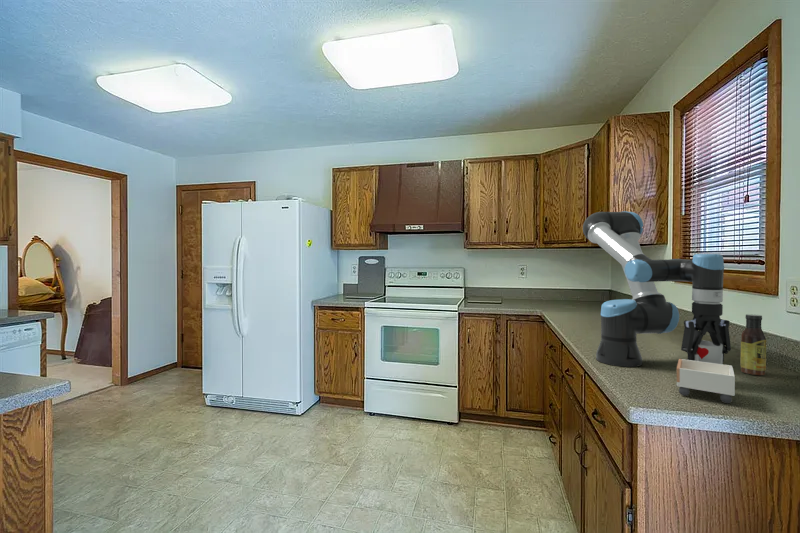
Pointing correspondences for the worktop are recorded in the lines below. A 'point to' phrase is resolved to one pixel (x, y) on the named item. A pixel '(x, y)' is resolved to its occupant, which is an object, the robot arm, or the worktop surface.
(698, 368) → the white open box
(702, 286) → the robot arm
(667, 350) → the worktop surface
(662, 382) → the worktop surface
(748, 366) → the sauce bottle
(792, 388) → the worktop surface
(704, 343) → the cup
